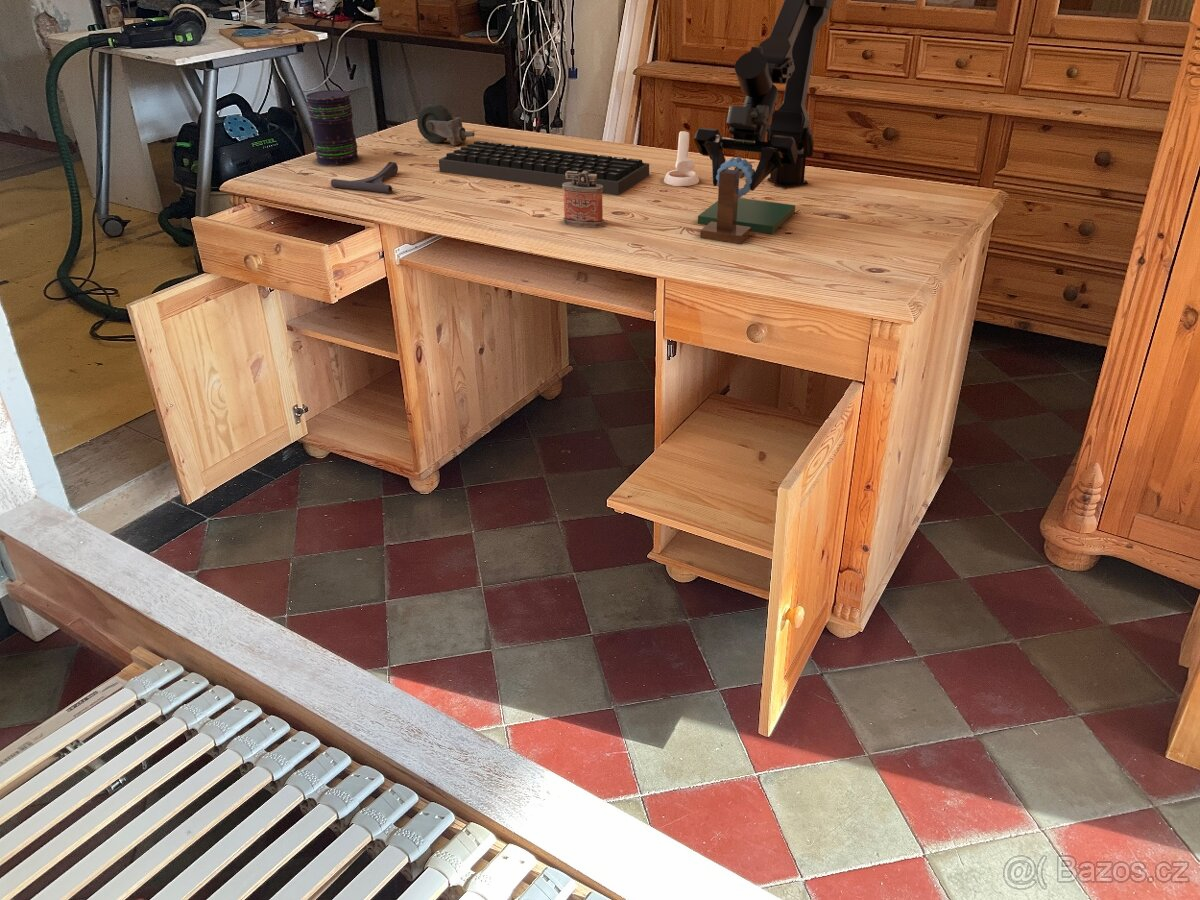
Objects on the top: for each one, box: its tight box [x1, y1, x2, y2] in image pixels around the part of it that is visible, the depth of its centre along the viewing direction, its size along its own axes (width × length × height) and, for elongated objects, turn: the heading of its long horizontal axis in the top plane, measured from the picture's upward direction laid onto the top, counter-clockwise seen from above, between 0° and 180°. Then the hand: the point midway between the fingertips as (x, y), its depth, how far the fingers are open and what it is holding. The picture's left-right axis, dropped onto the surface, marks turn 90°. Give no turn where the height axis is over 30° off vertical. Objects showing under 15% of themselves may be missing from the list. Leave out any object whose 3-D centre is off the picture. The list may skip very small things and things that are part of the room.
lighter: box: [561, 171, 605, 228], centre depth 186 cm, size 8×3×10 cm, turn 71°
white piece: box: [663, 130, 700, 187], centre depth 212 cm, size 8×12×7 cm
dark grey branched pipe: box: [330, 161, 399, 194], centre depth 214 cm, size 14×15×3 cm
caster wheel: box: [416, 103, 476, 147], centre depth 240 cm, size 6×10×15 cm
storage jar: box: [305, 89, 359, 167], centre depth 227 cm, size 10×10×15 cm
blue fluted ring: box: [716, 156, 756, 198], centre depth 179 cm, size 2×7×7 cm, turn 63°
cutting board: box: [697, 197, 796, 235], centre depth 190 cm, size 14×15×2 cm
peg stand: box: [699, 167, 752, 245], centre depth 180 cm, size 10×8×12 cm
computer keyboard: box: [438, 140, 650, 196], centre depth 217 cm, size 45×16×4 cm, turn 64°
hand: (732, 187), depth 178 cm, fingers closed on blue fluted ring, 7 cm apart
